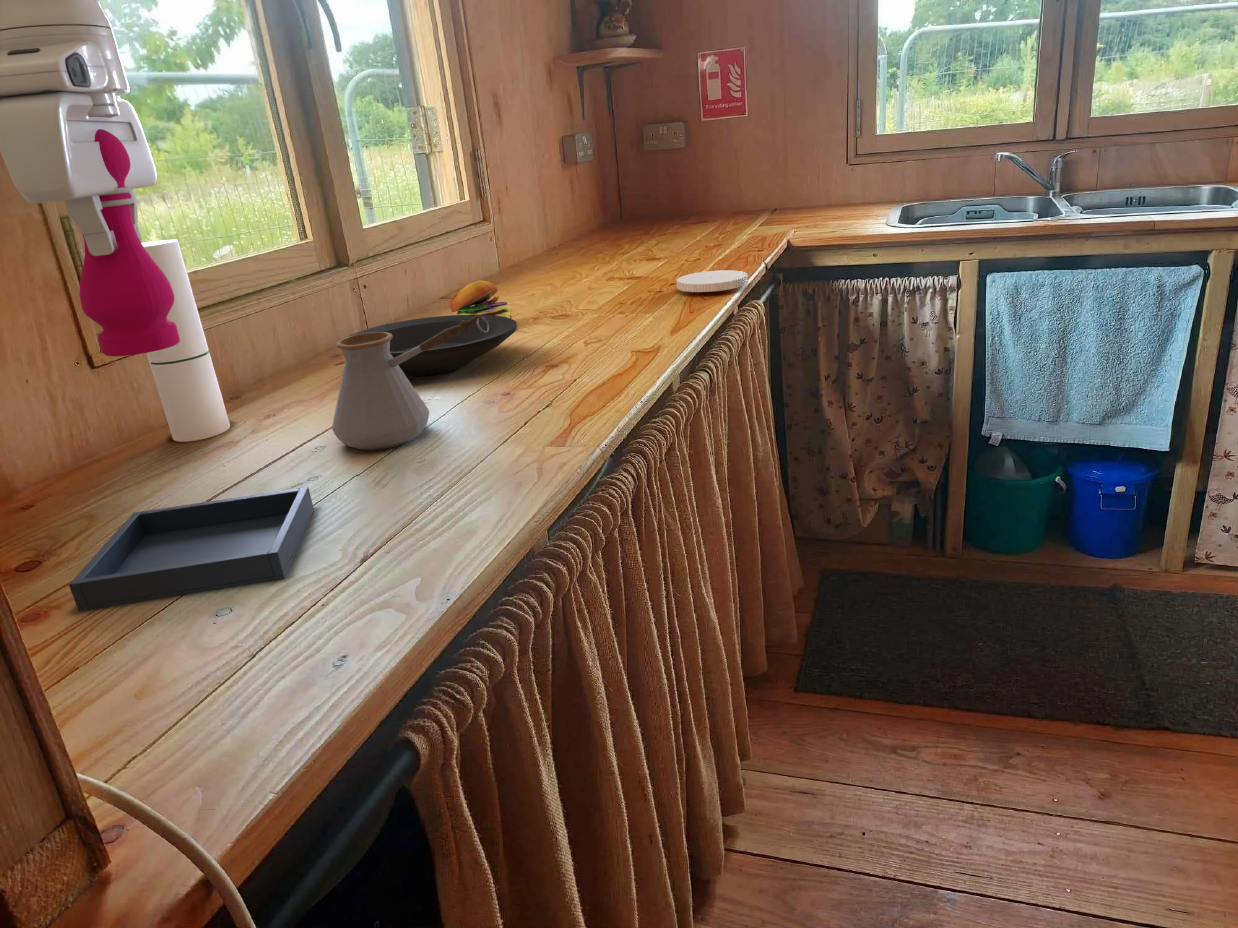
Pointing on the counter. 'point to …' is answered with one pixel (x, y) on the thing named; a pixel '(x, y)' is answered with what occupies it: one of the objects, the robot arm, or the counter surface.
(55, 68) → the robot arm
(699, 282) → the plastic lid
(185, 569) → the tray
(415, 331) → the black bowl
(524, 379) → the counter surface
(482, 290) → the cheeseburger
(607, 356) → the counter surface
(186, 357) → the cylindrical container
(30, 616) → the counter surface
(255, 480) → the counter surface
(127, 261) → the pepper mill
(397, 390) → the coffee pot
